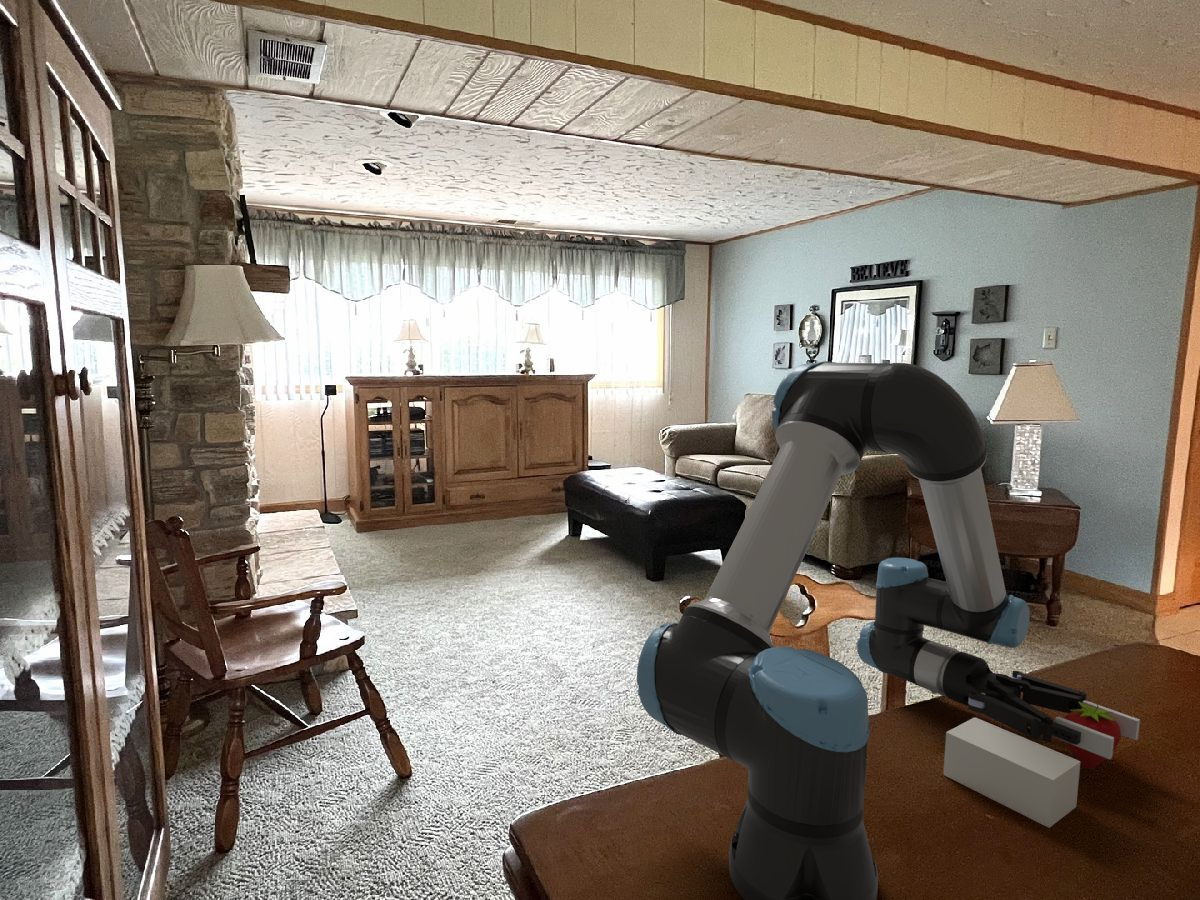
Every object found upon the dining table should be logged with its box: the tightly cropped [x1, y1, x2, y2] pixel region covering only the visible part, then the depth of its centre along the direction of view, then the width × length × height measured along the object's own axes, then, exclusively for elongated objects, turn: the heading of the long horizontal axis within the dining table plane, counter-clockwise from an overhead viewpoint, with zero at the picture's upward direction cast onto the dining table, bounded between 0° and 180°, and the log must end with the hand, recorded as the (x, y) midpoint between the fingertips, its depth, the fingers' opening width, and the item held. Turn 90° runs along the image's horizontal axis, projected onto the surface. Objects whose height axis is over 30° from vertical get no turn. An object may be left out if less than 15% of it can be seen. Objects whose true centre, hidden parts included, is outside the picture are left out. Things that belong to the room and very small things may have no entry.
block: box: [943, 717, 1081, 828], centre depth 91 cm, size 7×13×6 cm, turn 34°
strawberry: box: [1063, 694, 1122, 770], centre depth 96 cm, size 6×8×10 cm
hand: (1124, 738), depth 92 cm, fingers closed on strawberry, 7 cm apart
